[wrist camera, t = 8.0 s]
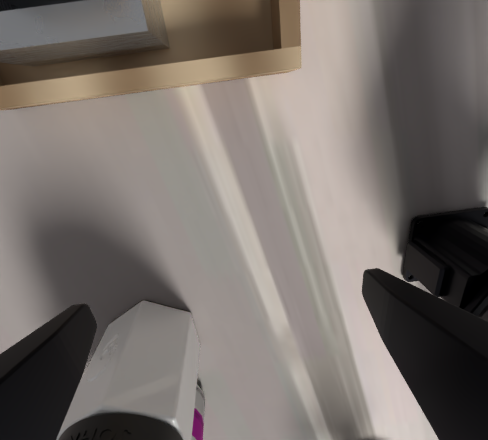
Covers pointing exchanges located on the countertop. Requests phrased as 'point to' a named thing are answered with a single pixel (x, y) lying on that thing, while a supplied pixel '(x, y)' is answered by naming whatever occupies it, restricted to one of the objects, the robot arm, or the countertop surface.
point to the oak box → (172, 55)
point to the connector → (36, 2)
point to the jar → (139, 379)
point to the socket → (80, 31)
